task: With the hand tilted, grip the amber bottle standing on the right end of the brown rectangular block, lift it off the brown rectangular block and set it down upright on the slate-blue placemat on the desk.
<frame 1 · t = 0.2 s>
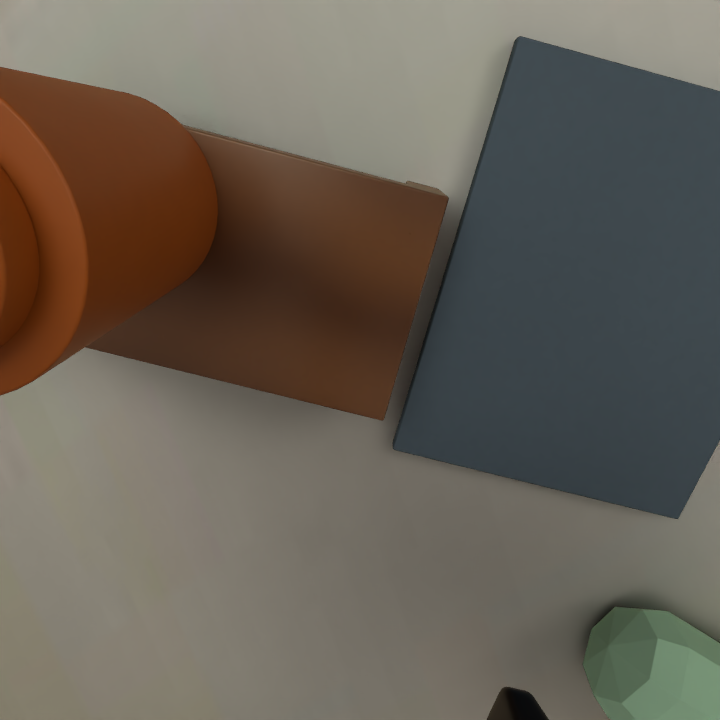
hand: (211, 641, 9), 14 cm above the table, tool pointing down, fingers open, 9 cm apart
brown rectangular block: (238, 247, 21), on the table
placemat: (603, 306, 21), on the table
amber bottle: (119, 200, 17), point 3 cm above the table, touching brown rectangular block
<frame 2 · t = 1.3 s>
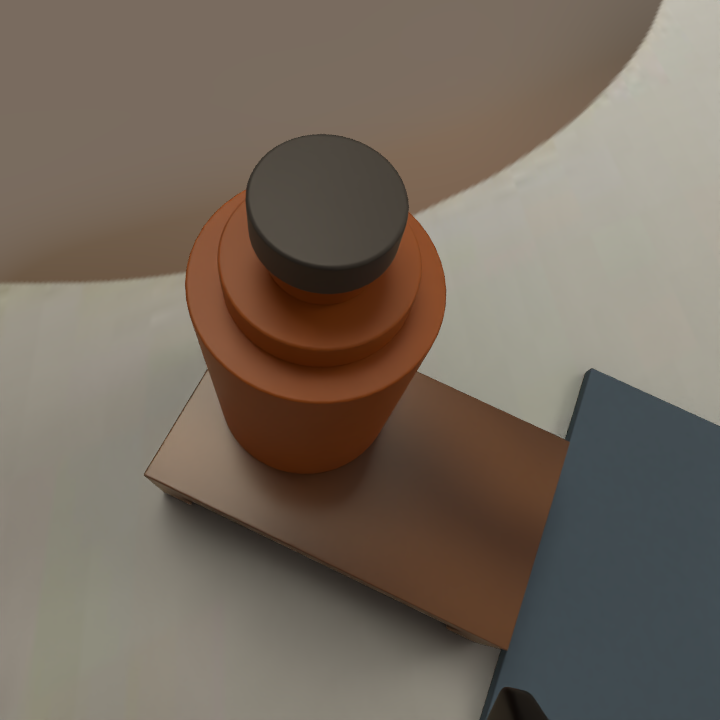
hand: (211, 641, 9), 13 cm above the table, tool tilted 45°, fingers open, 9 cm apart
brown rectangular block: (357, 476, 23), on the table
placemat: (676, 592, 23), on the table
amber bottle: (306, 390, 21), point 3 cm above the table, touching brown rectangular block
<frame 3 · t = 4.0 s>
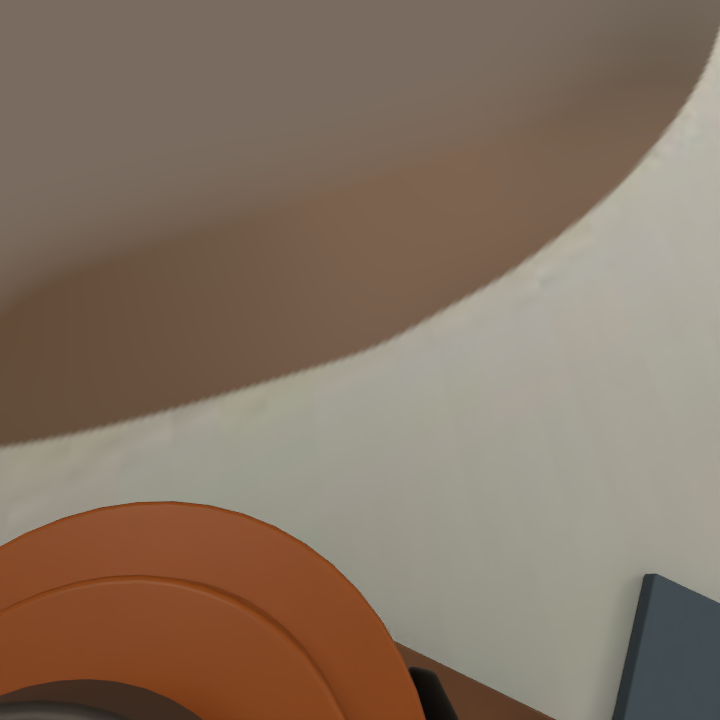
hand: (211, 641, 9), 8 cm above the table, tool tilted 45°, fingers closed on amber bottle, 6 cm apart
amber bottle: (217, 691, 13), point 4 cm above the table, touching gripper, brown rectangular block
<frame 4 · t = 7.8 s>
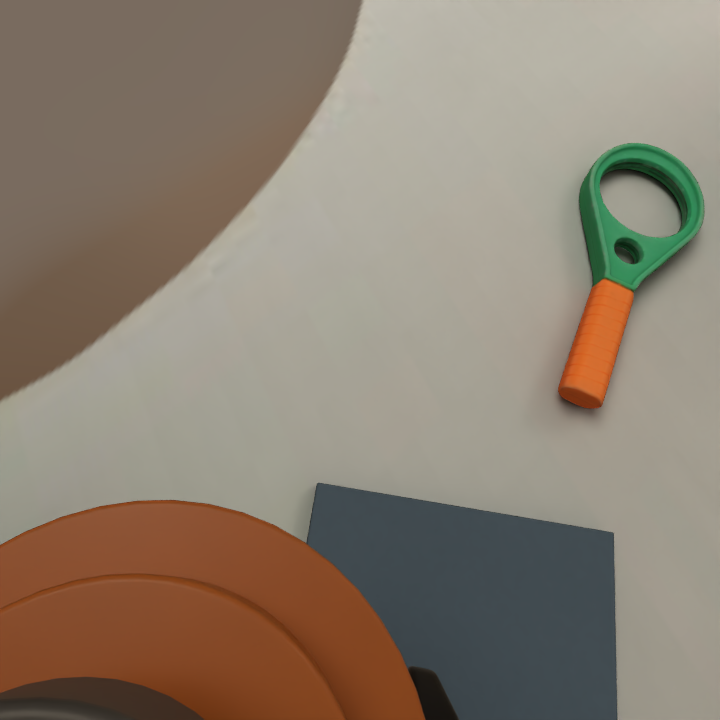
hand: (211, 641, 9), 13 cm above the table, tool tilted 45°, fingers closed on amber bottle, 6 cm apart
amber bottle: (216, 691, 13), point 8 cm above the table, touching gripper
magnifying glass: (610, 274, 29), on the table
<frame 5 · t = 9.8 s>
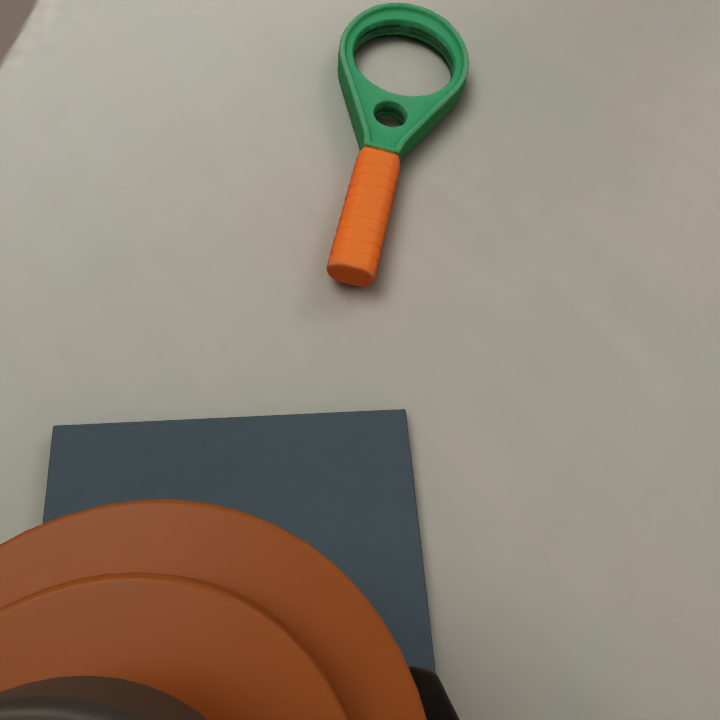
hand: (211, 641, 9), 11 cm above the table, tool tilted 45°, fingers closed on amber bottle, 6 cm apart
placemat: (239, 655, 18), on the table
amber bottle: (217, 690, 13), point 6 cm above the table, touching gripper
magnifying glass: (382, 146, 26), on the table
when the fingers open (5 cm above the table, at t = 11.7 s): amber bottle stays where it is, resting on placemat.
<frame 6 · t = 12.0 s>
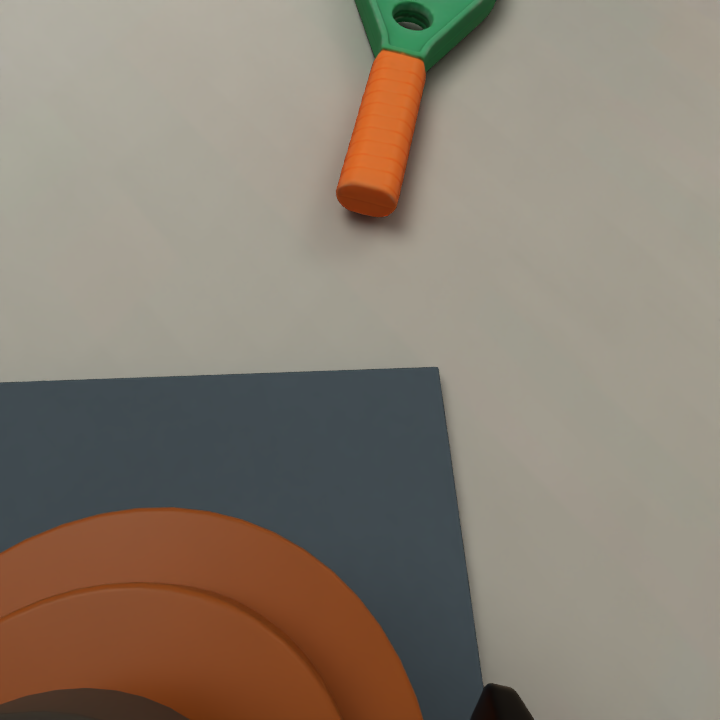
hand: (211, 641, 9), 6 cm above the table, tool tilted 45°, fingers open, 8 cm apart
placemat: (221, 689, 13), on the table
amber bottle: (217, 694, 13), point 1 cm above the table, touching placemat
magnifying glass: (402, 60, 22), on the table
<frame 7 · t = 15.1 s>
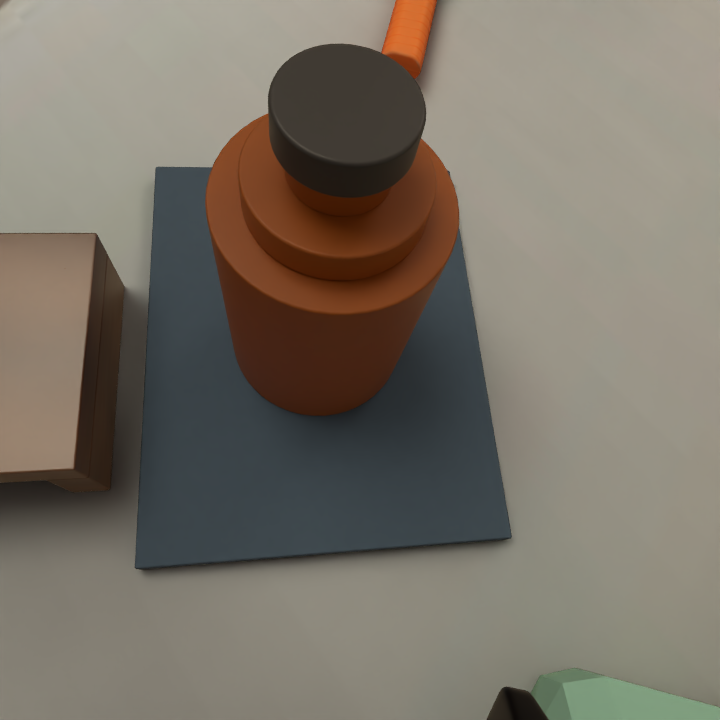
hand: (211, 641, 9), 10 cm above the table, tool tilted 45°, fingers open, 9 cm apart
placemat: (317, 342, 22), on the table
amber bottle: (317, 336, 21), point 1 cm above the table, touching placemat
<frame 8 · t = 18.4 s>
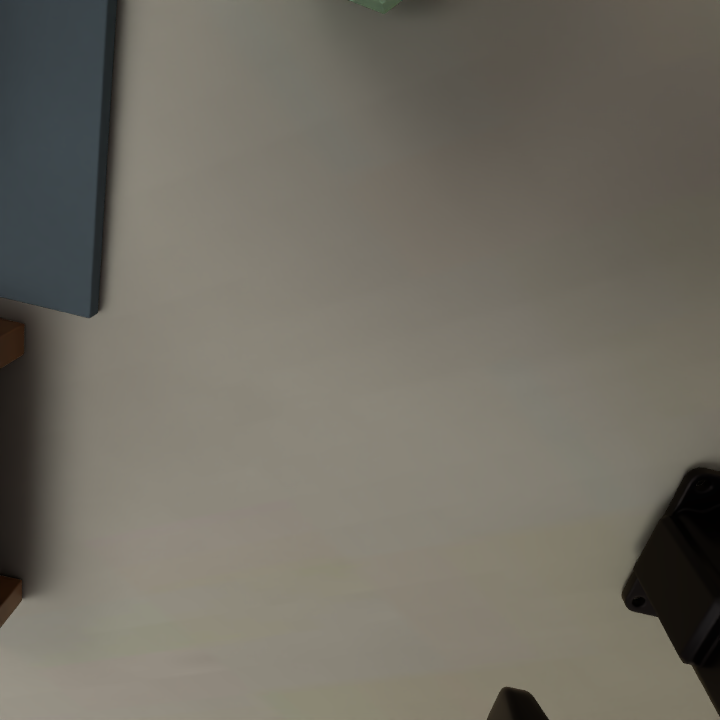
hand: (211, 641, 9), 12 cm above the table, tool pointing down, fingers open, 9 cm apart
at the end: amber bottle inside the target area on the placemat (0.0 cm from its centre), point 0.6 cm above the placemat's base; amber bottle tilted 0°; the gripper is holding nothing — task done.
